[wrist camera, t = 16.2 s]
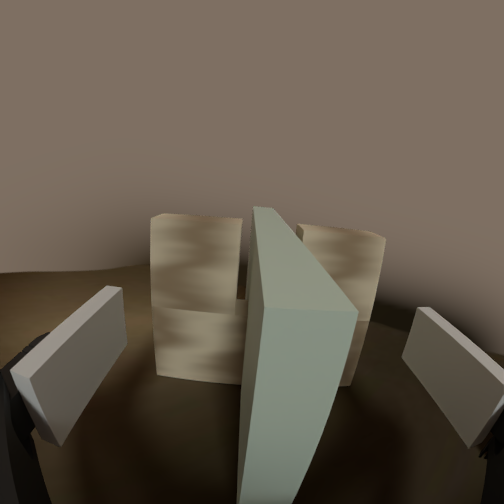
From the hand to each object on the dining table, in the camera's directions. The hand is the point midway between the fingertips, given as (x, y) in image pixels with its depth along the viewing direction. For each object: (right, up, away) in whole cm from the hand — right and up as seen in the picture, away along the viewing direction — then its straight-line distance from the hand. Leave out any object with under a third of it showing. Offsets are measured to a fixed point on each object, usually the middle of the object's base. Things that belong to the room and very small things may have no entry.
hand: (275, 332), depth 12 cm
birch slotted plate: (-1, -6, +8) cm, 10 cm away
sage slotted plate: (-1, -6, +8) cm, 10 cm away
